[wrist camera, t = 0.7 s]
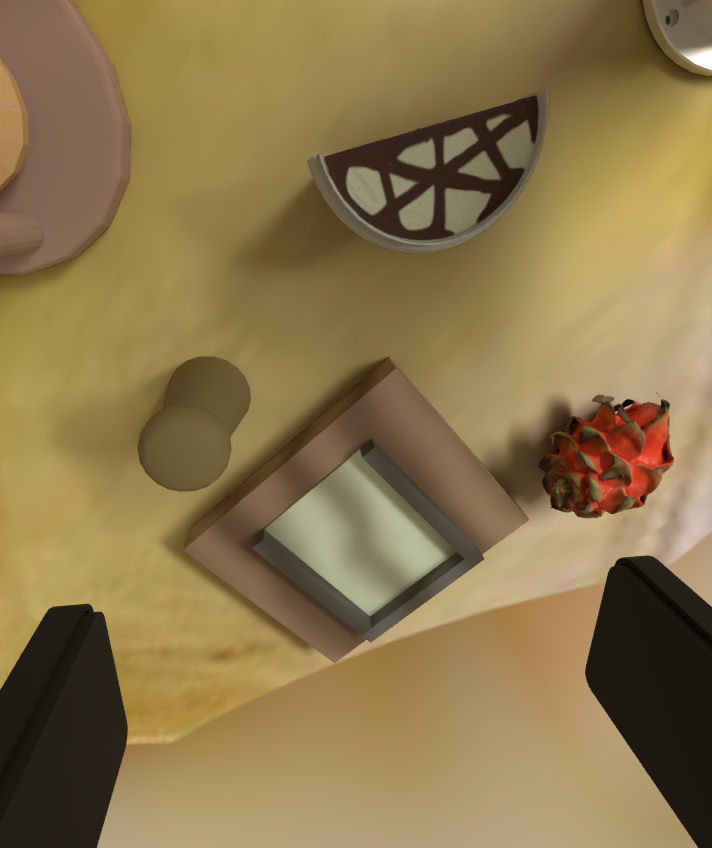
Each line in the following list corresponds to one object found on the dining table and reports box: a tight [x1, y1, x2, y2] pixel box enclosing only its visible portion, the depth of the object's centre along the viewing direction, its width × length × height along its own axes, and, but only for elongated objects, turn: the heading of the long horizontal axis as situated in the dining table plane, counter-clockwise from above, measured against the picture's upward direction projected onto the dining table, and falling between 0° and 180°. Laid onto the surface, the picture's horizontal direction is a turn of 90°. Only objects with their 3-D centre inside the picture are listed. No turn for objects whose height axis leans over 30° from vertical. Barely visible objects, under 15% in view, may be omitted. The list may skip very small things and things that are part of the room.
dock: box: [183, 357, 529, 663], centre depth 42 cm, size 22×18×4 cm
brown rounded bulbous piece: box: [138, 357, 251, 491], centre depth 33 cm, size 6×6×11 cm
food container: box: [307, 87, 549, 254], centre depth 29 cm, size 12×6×10 cm, turn 105°
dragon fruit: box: [538, 394, 674, 518], centre depth 40 cm, size 8×8×12 cm
